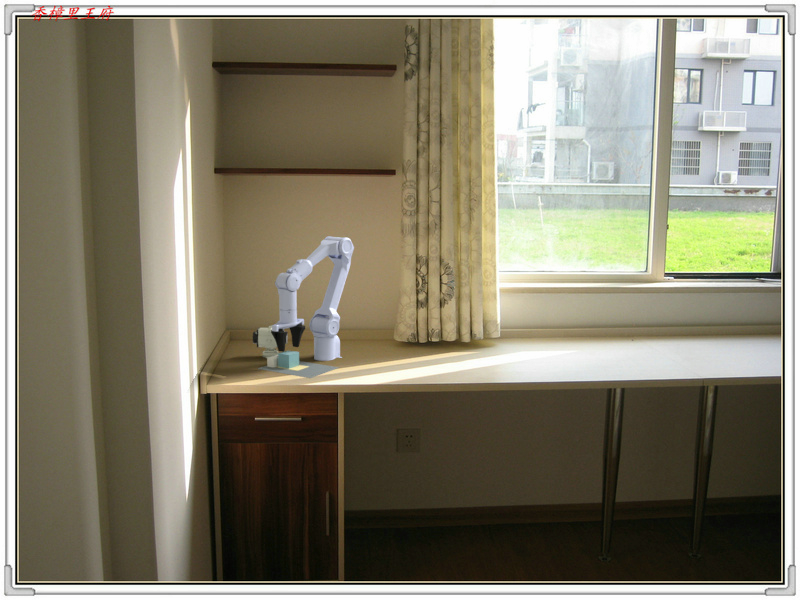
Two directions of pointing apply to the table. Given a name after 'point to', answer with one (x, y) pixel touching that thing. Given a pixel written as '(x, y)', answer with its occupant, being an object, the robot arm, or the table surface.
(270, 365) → the header
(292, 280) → the robot arm
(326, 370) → the mat
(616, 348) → the table surface
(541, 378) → the table surface
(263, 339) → the pneumatic valve
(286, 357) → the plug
